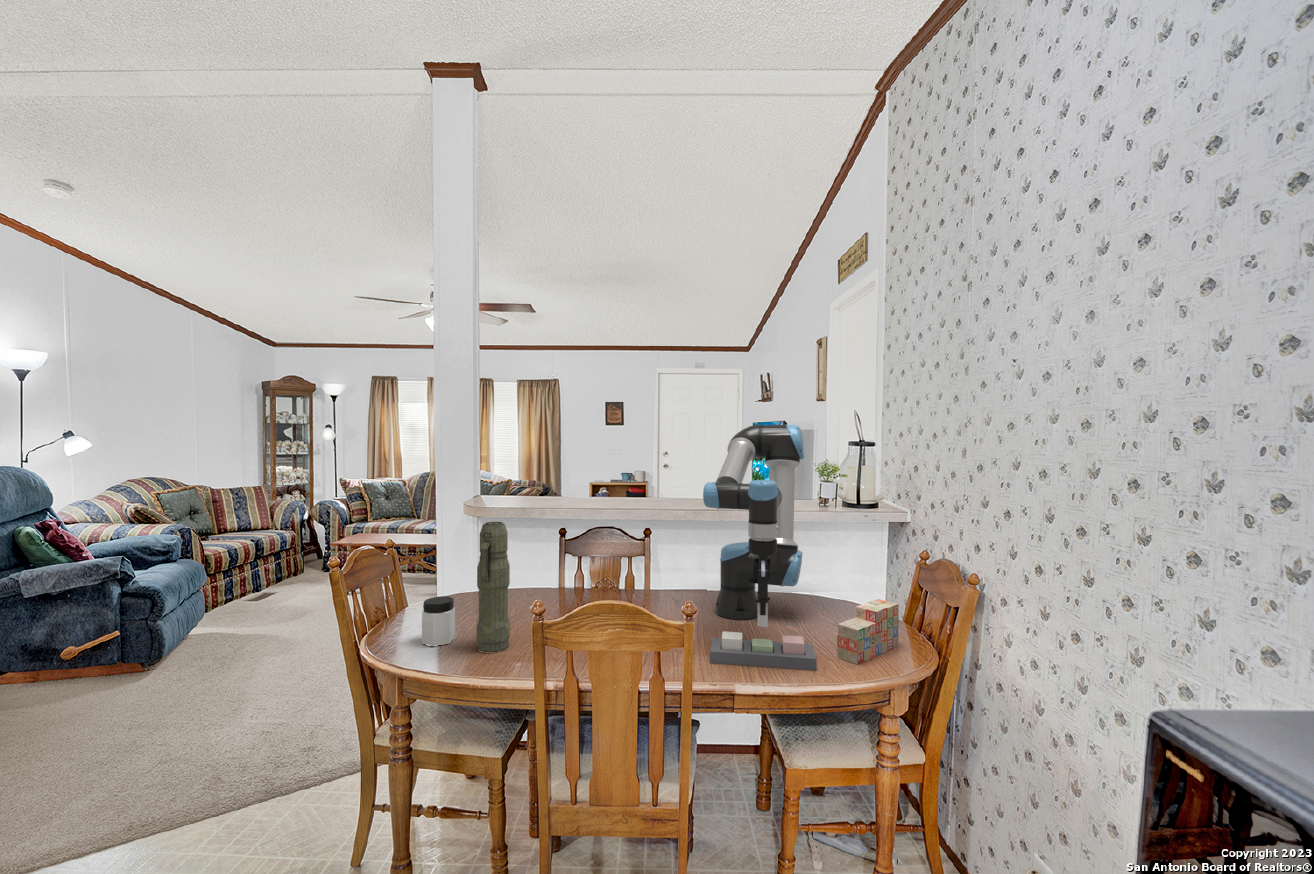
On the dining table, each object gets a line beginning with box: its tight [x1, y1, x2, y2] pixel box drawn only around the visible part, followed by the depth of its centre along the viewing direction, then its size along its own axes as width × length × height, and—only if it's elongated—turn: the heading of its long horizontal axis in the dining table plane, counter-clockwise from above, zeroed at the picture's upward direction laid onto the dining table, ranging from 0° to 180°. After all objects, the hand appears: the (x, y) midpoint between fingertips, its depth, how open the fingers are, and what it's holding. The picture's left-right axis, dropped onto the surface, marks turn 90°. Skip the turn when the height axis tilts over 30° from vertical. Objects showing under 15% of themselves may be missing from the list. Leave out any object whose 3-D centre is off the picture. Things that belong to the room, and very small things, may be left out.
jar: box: [421, 595, 456, 646], centre depth 159 cm, size 9×8×12 cm
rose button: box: [781, 634, 805, 655], centre depth 147 cm, size 5×5×4 cm
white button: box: [721, 630, 743, 651], centre depth 149 cm, size 5×5×4 cm
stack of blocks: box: [836, 598, 900, 665], centre depth 154 cm, size 21×6×12 cm, turn 129°
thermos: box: [476, 521, 511, 653], centre depth 155 cm, size 9×12×35 cm
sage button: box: [751, 638, 774, 653], centre depth 148 cm, size 5×5×4 cm
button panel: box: [709, 637, 818, 672], centre depth 148 cm, size 27×10×3 cm, turn 80°
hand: (762, 625), depth 148 cm, fingers closed
